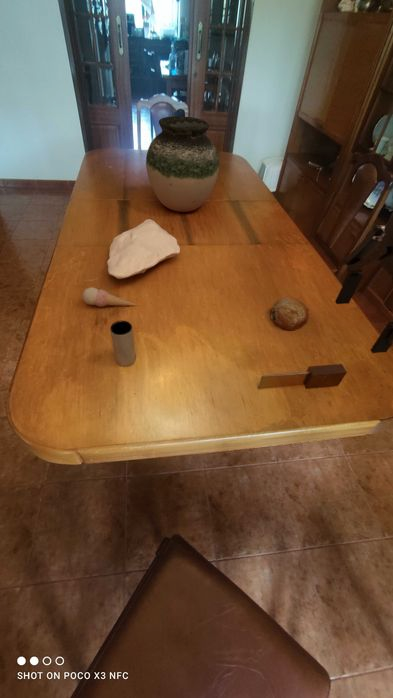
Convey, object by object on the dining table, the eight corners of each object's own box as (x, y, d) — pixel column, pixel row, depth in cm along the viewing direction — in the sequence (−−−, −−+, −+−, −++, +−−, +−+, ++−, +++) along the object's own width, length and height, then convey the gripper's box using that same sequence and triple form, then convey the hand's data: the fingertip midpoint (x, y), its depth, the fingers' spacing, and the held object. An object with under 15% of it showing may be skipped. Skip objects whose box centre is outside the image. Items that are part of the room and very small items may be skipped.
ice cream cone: (139, 301, 91) (85, 290, 87) (141, 294, 87) (84, 282, 83) (136, 316, 90) (81, 306, 86) (138, 310, 85) (80, 298, 82)
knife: (333, 377, 75) (341, 363, 71) (338, 386, 73) (347, 372, 69) (256, 384, 72) (261, 370, 68) (259, 393, 70) (264, 379, 67)
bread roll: (267, 318, 93) (262, 300, 87) (298, 302, 93) (295, 283, 86) (283, 341, 87) (279, 324, 81) (317, 324, 86) (315, 305, 80)
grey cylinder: (128, 349, 76) (124, 317, 69) (139, 360, 74) (136, 328, 67) (112, 358, 74) (105, 326, 67) (123, 370, 72) (118, 338, 65)
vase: (157, 224, 122) (154, 133, 100) (141, 195, 140) (136, 112, 118) (224, 218, 130) (236, 132, 108) (201, 191, 148) (207, 113, 126)
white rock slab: (188, 236, 114) (185, 211, 108) (168, 293, 90) (163, 264, 84) (126, 237, 118) (120, 213, 112) (91, 292, 94) (81, 265, 87)
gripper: (355, 180, 52) (313, 286, 68) (466, 260, 36) (376, 378, 51) (396, 181, 54) (345, 285, 69) (521, 259, 37) (417, 374, 52)
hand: (358, 325), depth 60 cm, fingers open, 13 cm apart
